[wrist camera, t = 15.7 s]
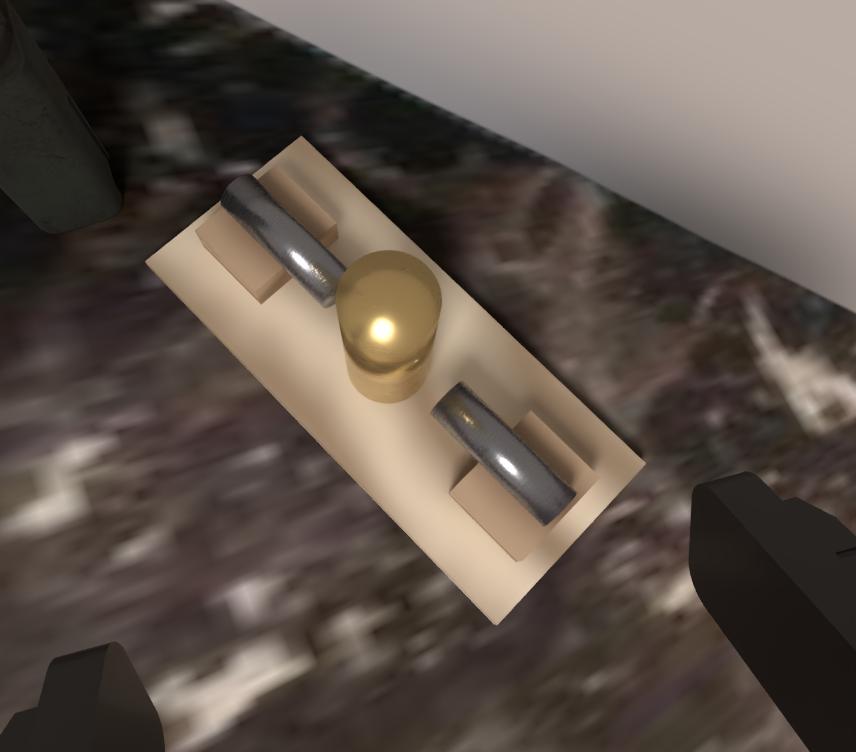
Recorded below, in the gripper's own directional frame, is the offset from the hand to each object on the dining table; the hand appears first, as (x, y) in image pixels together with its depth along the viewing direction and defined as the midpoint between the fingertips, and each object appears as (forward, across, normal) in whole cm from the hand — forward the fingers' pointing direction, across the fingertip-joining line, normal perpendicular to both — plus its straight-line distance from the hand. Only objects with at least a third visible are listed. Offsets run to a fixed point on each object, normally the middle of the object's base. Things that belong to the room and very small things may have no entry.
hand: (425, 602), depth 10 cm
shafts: (+28, -3, +11) cm, 30 cm away
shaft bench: (+30, -3, +13) cm, 33 cm away
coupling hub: (+29, -3, +13) cm, 32 cm away
